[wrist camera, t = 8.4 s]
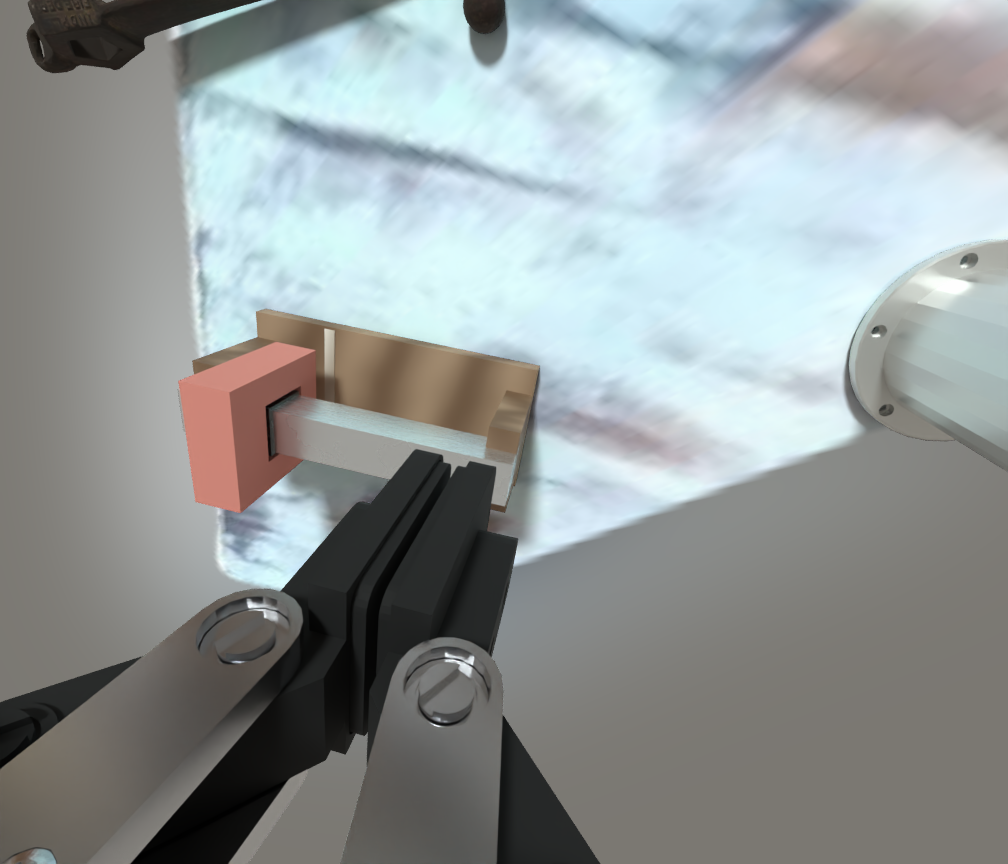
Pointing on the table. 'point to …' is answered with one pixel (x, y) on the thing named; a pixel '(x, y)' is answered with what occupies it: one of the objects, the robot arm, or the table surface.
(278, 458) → the salmon pink rectangular block
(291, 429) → the rod
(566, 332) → the table surface
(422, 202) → the table surface
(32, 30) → the wrench
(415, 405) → the pipe stand
